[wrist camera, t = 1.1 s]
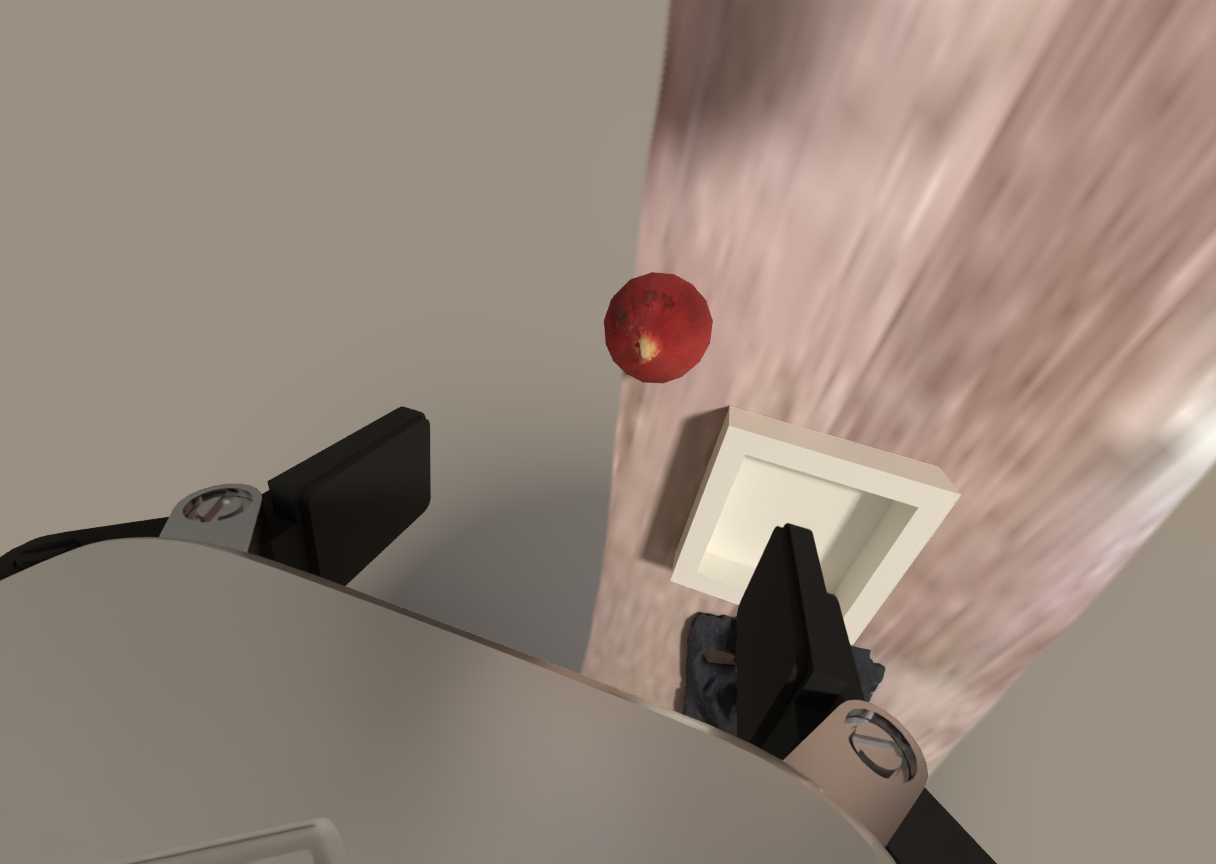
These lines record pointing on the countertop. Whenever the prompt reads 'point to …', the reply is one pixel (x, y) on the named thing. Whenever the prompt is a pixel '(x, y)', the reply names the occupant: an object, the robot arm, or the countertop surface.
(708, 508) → the dish
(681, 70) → the countertop surface
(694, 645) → the dark grey folded cloth
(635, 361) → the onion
